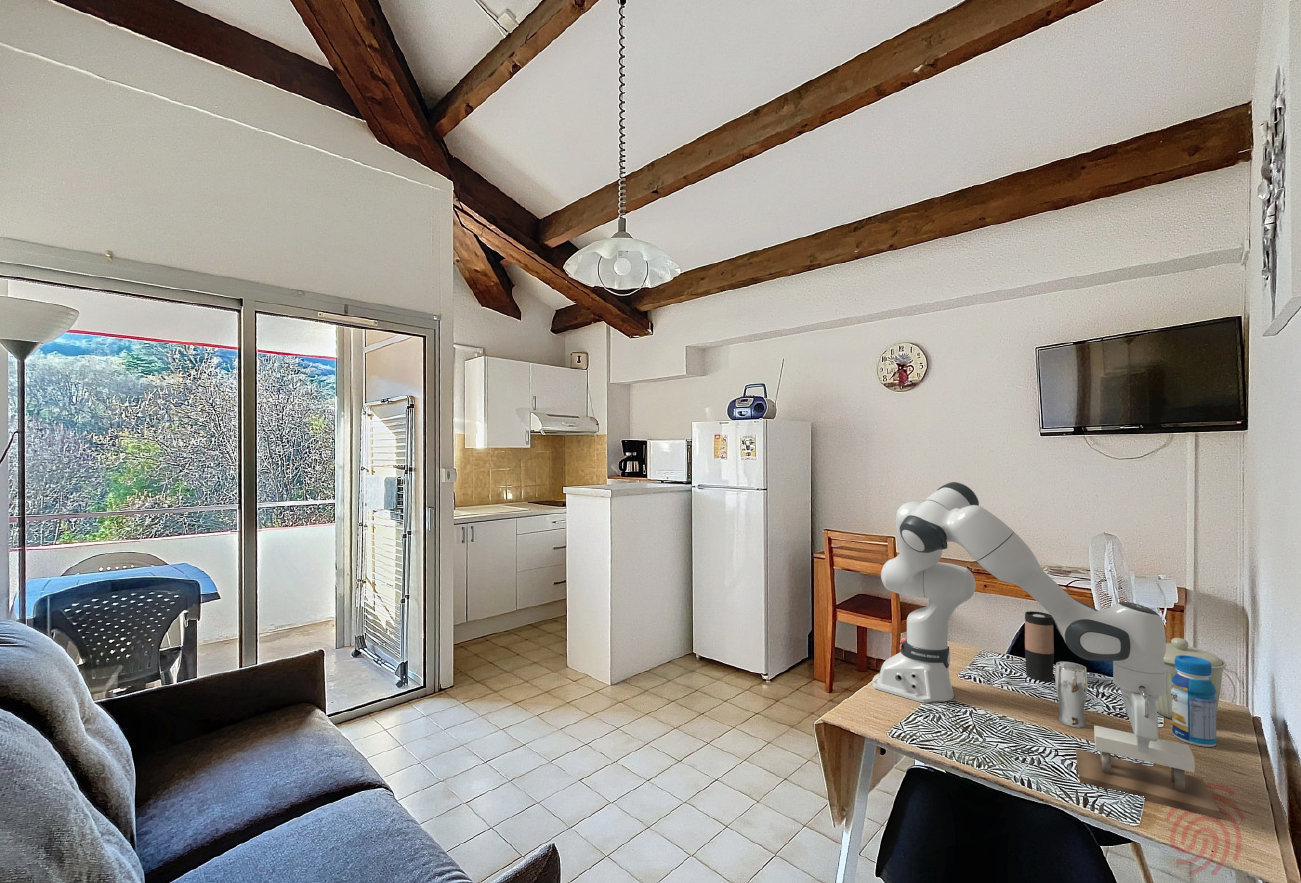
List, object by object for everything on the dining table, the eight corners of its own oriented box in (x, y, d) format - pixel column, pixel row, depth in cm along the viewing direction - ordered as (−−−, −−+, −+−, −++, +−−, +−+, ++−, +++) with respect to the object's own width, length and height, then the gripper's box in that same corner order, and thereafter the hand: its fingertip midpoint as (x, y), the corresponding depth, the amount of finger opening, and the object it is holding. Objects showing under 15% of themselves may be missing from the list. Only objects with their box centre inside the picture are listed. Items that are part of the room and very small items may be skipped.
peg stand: (1079, 783, 125) (1079, 755, 125) (1076, 755, 137) (1075, 729, 137) (1219, 819, 113) (1219, 788, 113) (1202, 785, 124) (1202, 757, 124)
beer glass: (1093, 730, 149) (1093, 671, 149) (1063, 727, 150) (1062, 669, 151) (1079, 718, 156) (1078, 662, 156) (1050, 715, 157) (1050, 660, 158)
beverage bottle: (1211, 751, 138) (1209, 667, 139) (1166, 737, 146) (1164, 657, 146) (1222, 742, 143) (1221, 661, 143) (1178, 728, 150) (1176, 651, 150)
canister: (1244, 726, 151) (1243, 645, 152) (1197, 735, 146) (1196, 652, 147) (1166, 698, 169) (1165, 626, 169) (1121, 706, 164) (1120, 631, 164)
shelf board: (1194, 772, 118) (1194, 757, 118) (1095, 749, 127) (1095, 736, 127) (1189, 759, 122) (1188, 745, 122) (1094, 738, 132) (1094, 725, 132)
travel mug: (1019, 673, 188) (1018, 611, 188) (1041, 672, 189) (1040, 610, 189) (1037, 682, 180) (1037, 618, 181) (1060, 681, 181) (1059, 617, 181)
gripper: (1167, 700, 115) (1168, 770, 114) (1150, 668, 132) (1151, 729, 131) (1126, 692, 118) (1127, 760, 118) (1115, 662, 135) (1116, 722, 135)
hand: (1139, 744), depth 125 cm, fingers closed on shelf board, 6 cm apart
